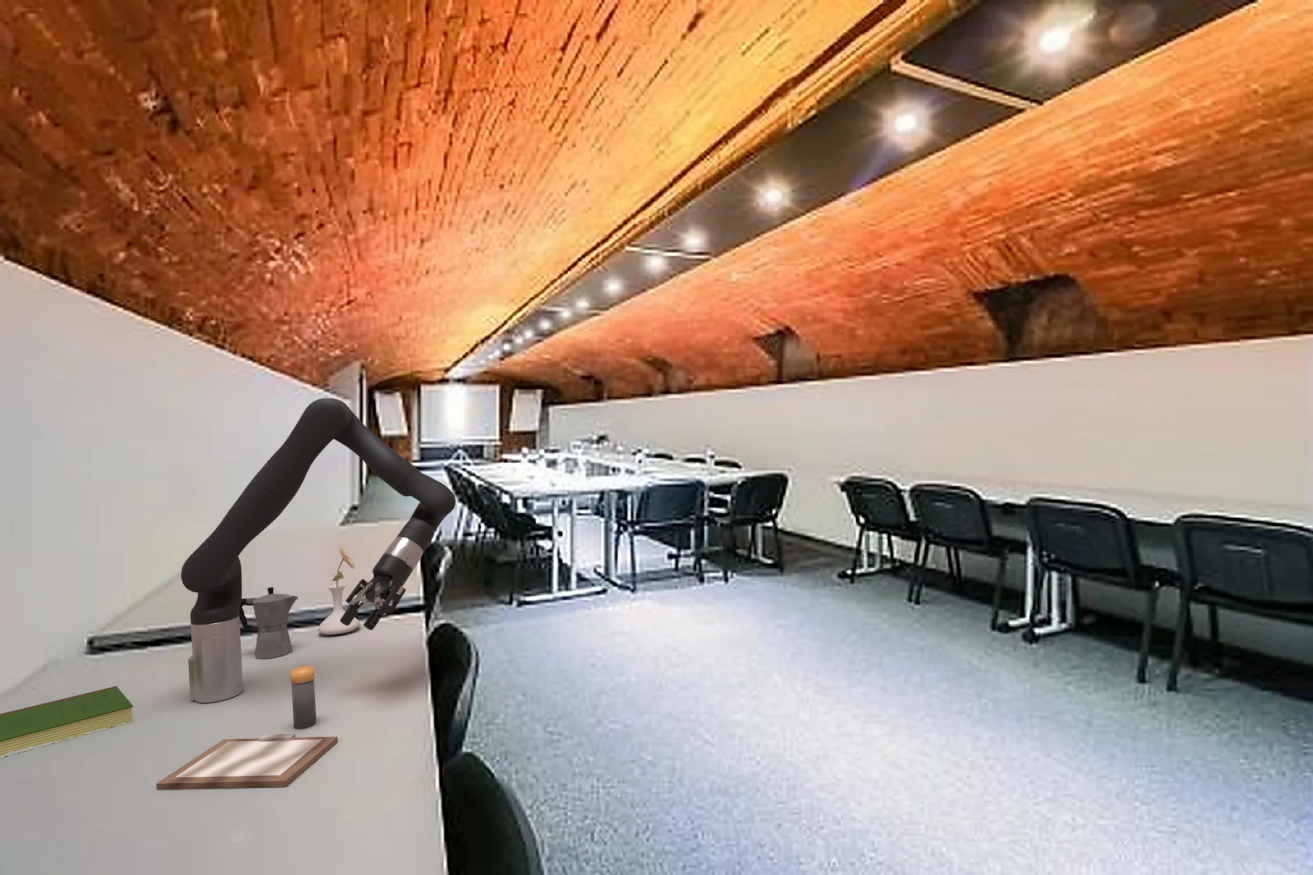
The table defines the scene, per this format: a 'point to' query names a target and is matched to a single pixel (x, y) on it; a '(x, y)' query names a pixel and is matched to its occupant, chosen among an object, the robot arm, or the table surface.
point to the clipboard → (250, 763)
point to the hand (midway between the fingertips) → (355, 626)
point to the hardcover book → (63, 719)
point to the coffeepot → (270, 623)
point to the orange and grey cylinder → (303, 697)
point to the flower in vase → (338, 605)
